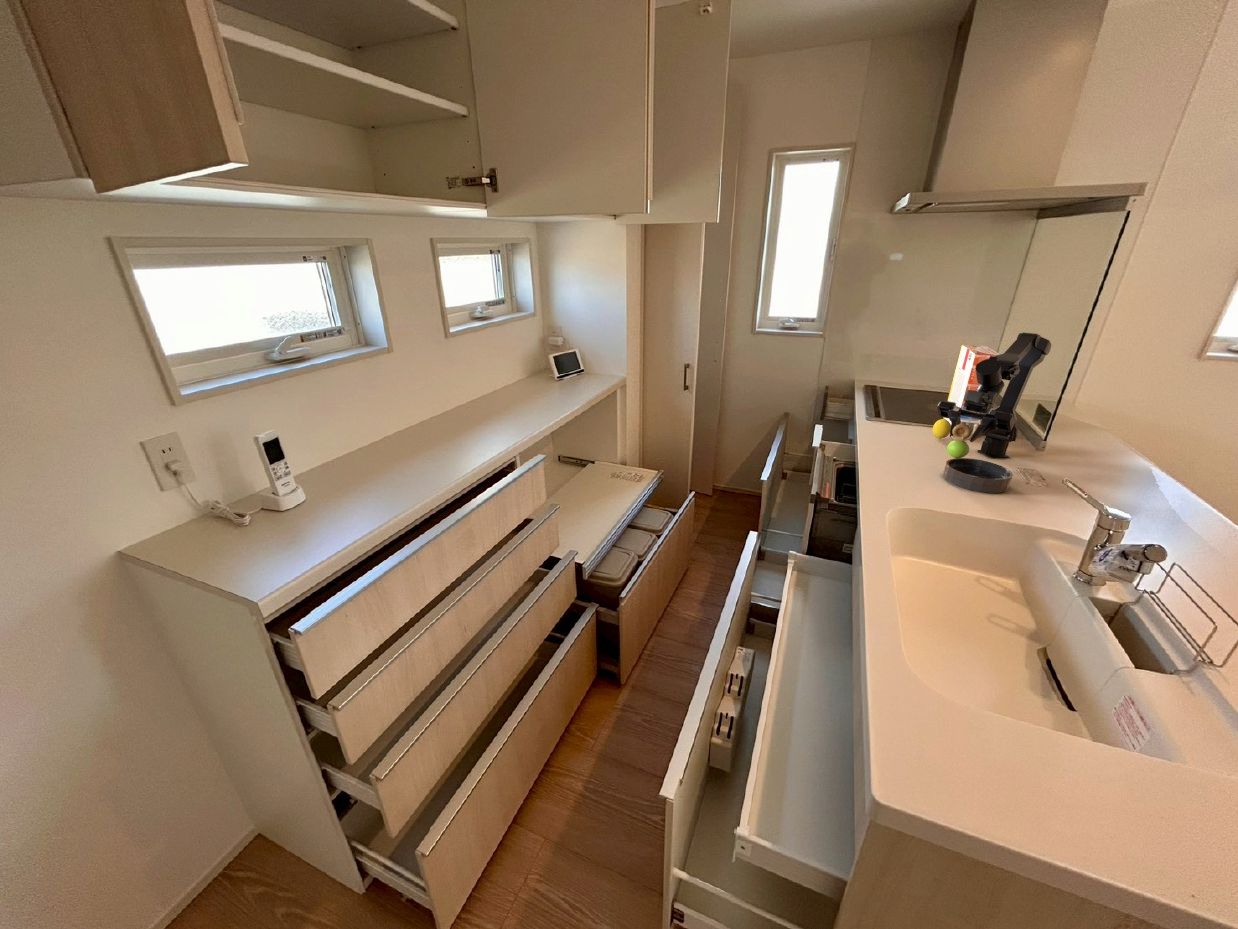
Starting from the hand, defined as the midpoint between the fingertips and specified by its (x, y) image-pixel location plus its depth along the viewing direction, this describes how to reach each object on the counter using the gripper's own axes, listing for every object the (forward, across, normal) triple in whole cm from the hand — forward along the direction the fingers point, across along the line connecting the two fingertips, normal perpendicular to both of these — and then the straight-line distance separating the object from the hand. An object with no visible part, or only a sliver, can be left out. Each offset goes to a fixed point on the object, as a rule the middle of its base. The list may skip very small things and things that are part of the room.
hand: (960, 438), depth 144 cm
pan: (+6, +5, +13) cm, 15 cm away
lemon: (-16, -18, +36) cm, 43 cm away
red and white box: (-32, -20, +52) cm, 64 cm away
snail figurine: (+4, 0, +6) cm, 7 cm away
